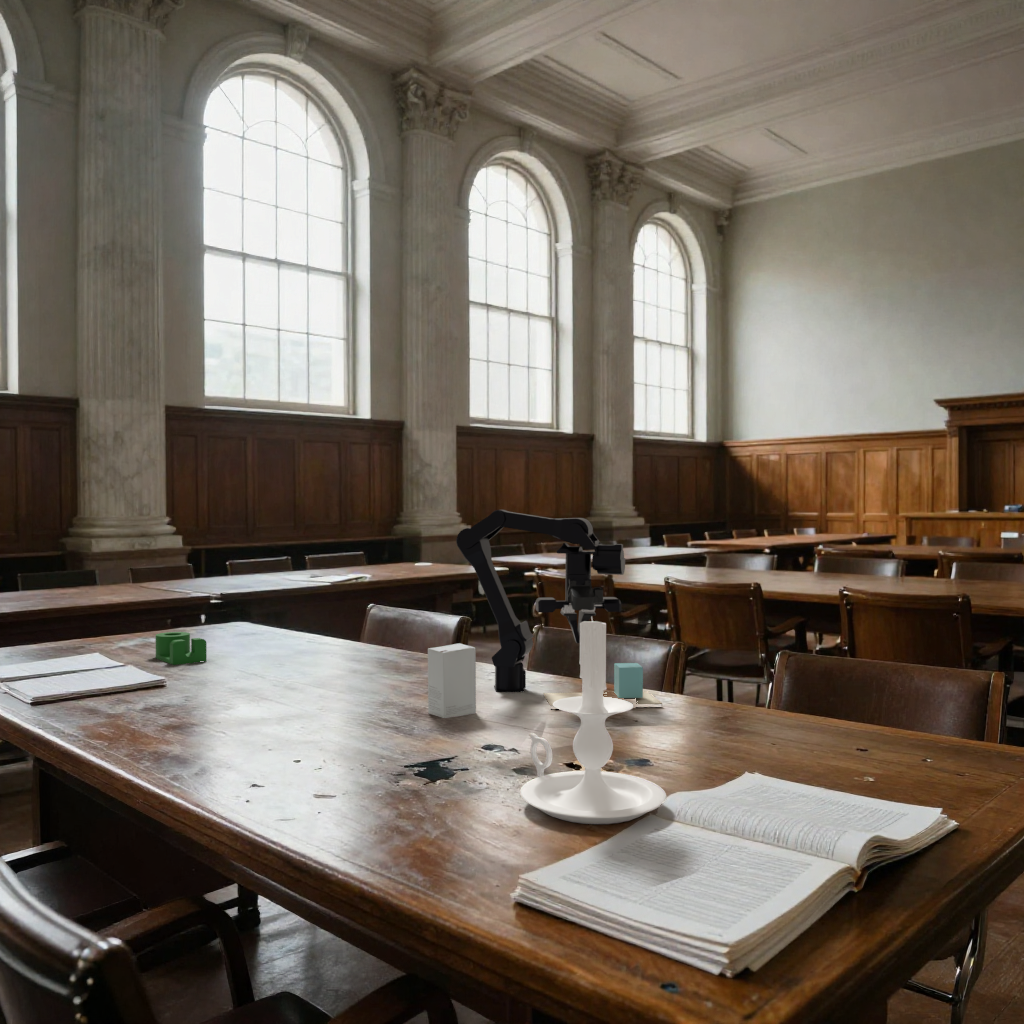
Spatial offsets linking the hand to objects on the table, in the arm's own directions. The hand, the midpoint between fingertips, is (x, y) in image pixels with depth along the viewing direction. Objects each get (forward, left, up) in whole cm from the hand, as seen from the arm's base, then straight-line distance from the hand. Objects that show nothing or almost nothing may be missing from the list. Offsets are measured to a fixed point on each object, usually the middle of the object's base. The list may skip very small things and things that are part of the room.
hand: (578, 643), depth 209 cm
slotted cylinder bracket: (-102, +57, -12) cm, 117 cm away
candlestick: (-12, -75, -12) cm, 77 cm away
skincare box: (-29, -20, -12) cm, 37 cm away
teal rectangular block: (+10, -7, -10) cm, 16 cm away
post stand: (+4, -7, -12) cm, 14 cm away
